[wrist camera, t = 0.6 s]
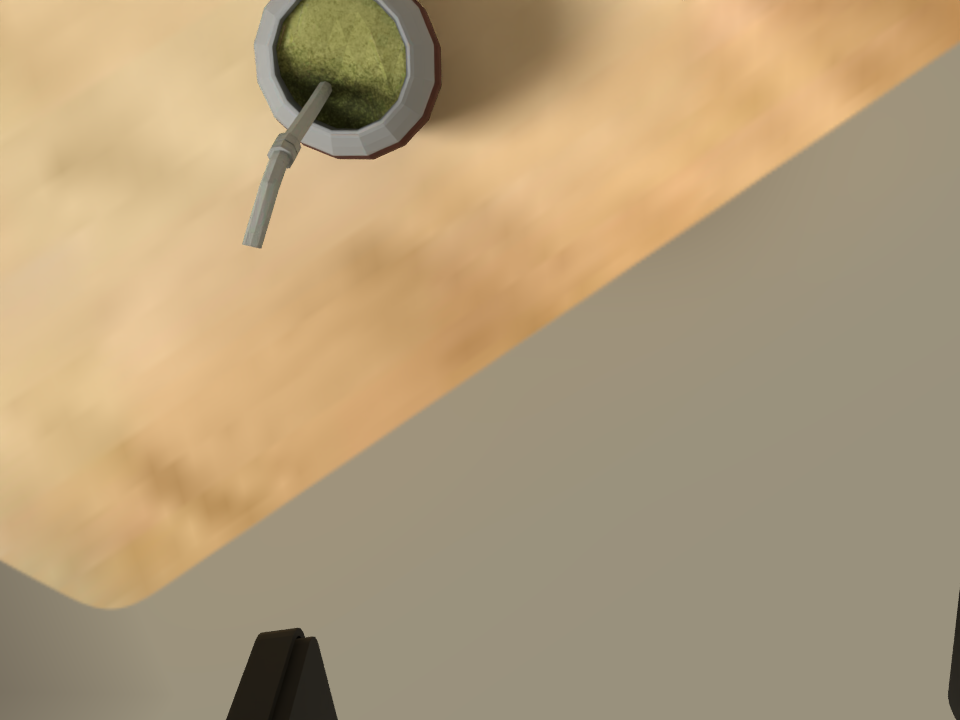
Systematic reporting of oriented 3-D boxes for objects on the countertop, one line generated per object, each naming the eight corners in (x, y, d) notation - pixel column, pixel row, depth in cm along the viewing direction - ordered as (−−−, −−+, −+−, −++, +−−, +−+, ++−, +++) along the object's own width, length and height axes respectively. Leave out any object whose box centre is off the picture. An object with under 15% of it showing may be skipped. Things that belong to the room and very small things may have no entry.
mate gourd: (403, -40, 31) (363, -169, 17) (473, 135, 34) (489, 149, 19) (251, 32, 32) (91, -35, 18) (331, 197, 34) (246, 255, 20)
